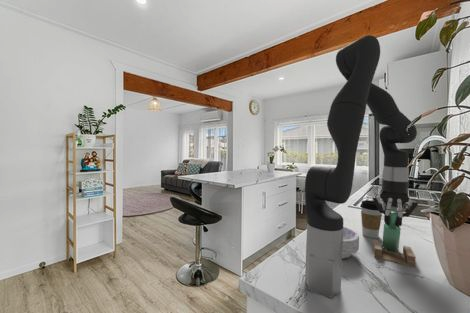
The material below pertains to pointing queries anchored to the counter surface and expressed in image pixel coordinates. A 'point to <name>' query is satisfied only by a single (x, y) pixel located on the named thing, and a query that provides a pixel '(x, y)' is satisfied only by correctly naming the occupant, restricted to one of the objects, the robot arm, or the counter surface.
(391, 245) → the bottle
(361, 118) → the robot arm
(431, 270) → the counter surface
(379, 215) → the coffee cup
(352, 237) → the paper bowls
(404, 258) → the cradle
